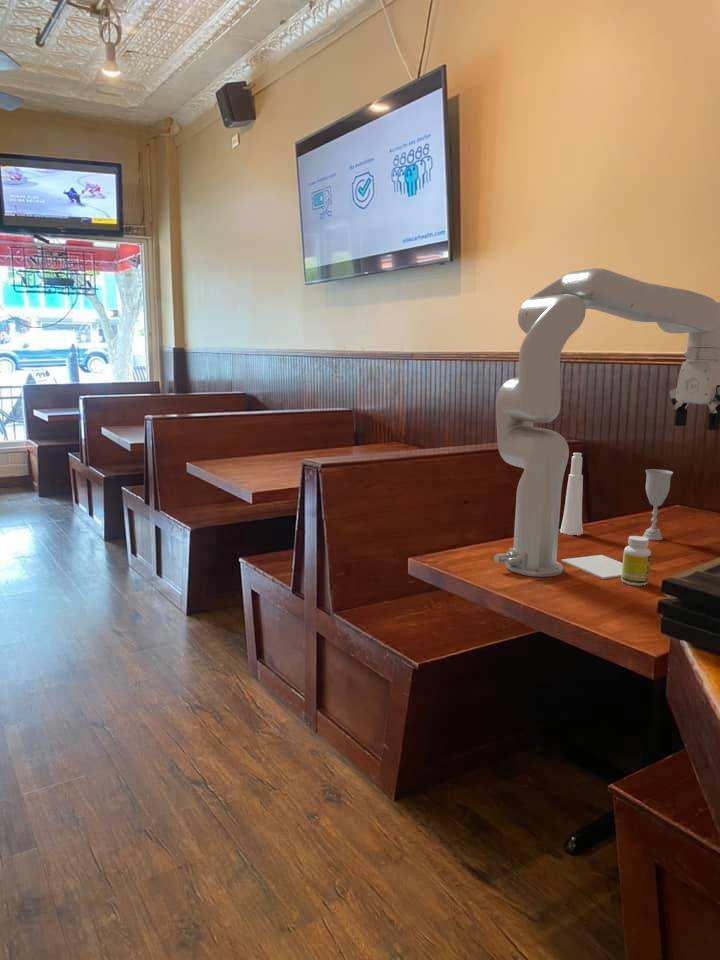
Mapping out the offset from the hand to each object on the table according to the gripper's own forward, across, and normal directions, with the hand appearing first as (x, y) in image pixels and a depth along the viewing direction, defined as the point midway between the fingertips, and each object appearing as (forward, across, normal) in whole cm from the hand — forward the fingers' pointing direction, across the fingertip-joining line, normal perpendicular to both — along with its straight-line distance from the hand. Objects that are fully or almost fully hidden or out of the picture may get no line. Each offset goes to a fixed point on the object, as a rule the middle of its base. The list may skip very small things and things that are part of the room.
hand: (696, 427), depth 168 cm
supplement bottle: (+31, +14, -30) cm, 45 cm away
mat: (+31, +4, -29) cm, 42 cm away
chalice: (+31, -13, +3) cm, 34 cm away
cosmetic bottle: (+31, -24, -14) cm, 42 cm away
